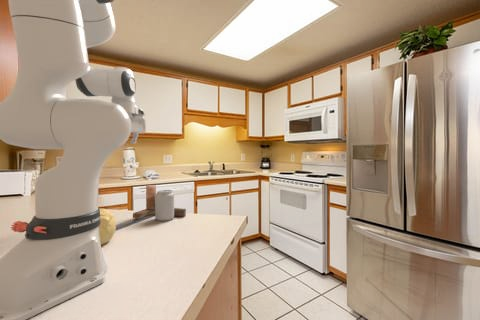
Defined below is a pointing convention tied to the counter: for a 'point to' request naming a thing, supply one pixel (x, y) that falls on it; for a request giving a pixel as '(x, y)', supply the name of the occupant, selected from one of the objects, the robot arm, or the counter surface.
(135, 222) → the rail
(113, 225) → the pale yellow rounded lump
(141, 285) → the counter surface
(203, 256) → the counter surface
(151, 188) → the brown wooden stand
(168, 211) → the can
